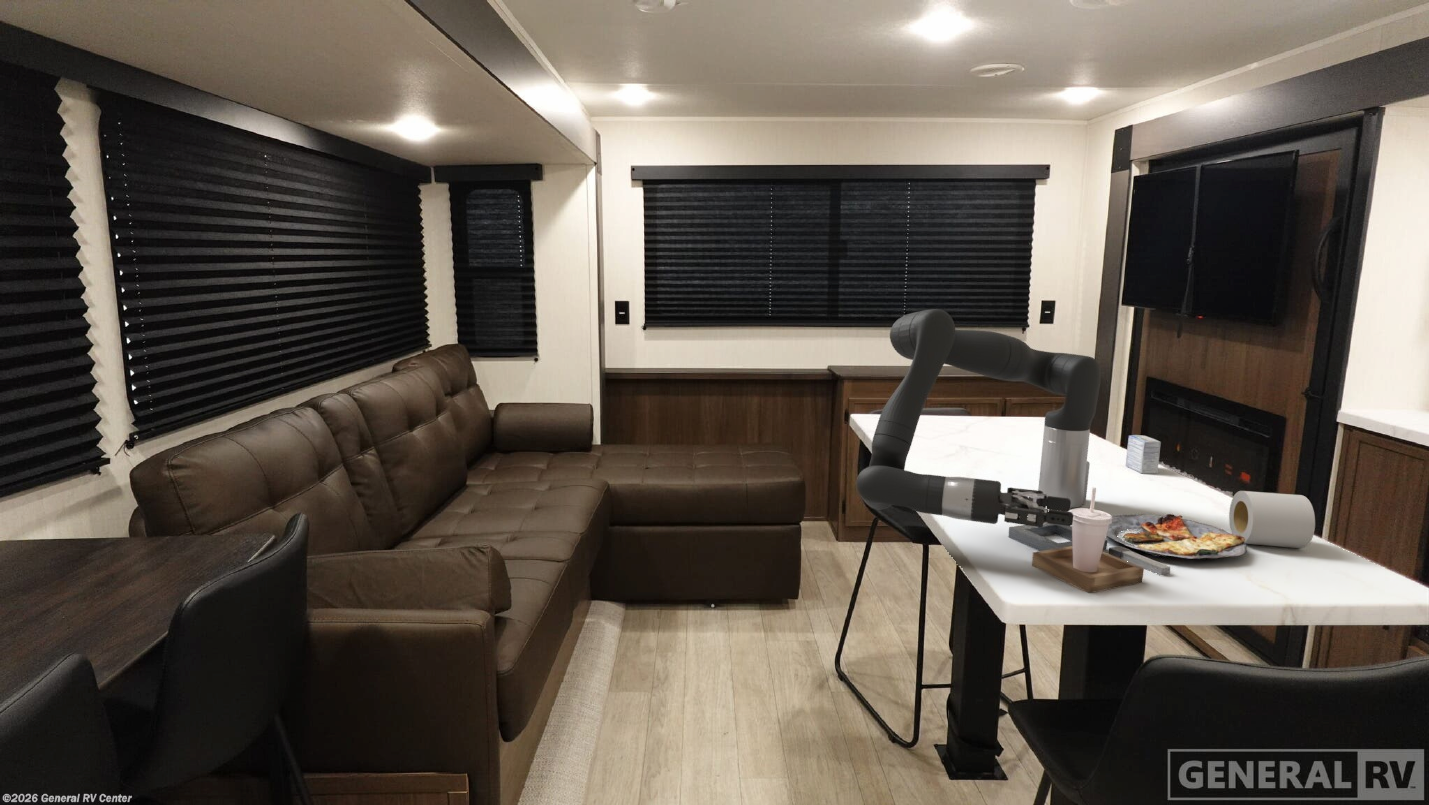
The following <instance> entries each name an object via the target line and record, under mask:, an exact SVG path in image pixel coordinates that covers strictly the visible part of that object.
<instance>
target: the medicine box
mask: <svg viewBox="0 0 1429 805" xmlns="http://www.w3.org/2000/svg"><path fill="white" fill-rule="evenodd" d="M1161 444H1162V442H1161V441H1159V440H1157V439H1155V438H1153V437H1149V436H1147V435H1140V434H1133V435H1128V440H1127V448H1126V449H1127V450H1126V457H1125V467H1127V468H1129V469H1131V470H1133V471H1136V472H1137V473H1139V474H1142V475H1146V474H1147V475H1157V474H1158V472H1159V464H1160V453H1161V452H1160V451H1161Z"/></svg>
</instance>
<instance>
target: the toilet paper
mask: <svg viewBox="0 0 1429 805" xmlns="http://www.w3.org/2000/svg"><path fill="white" fill-rule="evenodd" d="M1228 513H1229V515H1228V517H1229V518H1228V519H1229V520H1228V521H1229V528H1230V533H1231V534H1233V535H1238V536H1242V537H1244V539H1245V541H1244V543H1245V544H1246V545H1258V546H1269V547H1280V548H1290V549H1291V548H1292V549H1304V548H1307V547H1308V546H1309V545H1310V544H1311V542H1312V540H1313V538H1314V534H1315V530H1316V529H1315V528H1316V515H1315V511H1314V507H1313V504H1312V503H1311V501H1310V500H1309V499H1308V498H1307V497H1306V496H1304V495H1302V494H1288V493H1277V492H1261V491H1249V490H1239V491H1237V492H1236V493H1235V494H1234V495H1233V497H1232V499H1231V503H1230V506H1229V512H1228Z"/></svg>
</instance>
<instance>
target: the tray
mask: <svg viewBox="0 0 1429 805" xmlns="http://www.w3.org/2000/svg"><path fill="white" fill-rule="evenodd" d="M1031 566H1032V567H1033V568H1036V569H1038V570H1040V571H1042V572H1044V573H1046V574H1049V575H1050V576H1053V577H1055V578H1057V579H1058V580H1060V581H1063V582H1065V583H1067V584H1070V585H1071V586H1073V587H1075V588H1077V589H1080V590H1082V591H1084V592H1086V593H1088V594H1090V593H1091V594H1092V593H1095V592H1096V593H1097V592H1100V591H1106V590H1111V589H1116V588H1121V587H1126V586H1132V585H1136V584H1142V583H1143V578H1144V572H1145V571H1144V570H1145V569H1144V568H1142V567H1140V566H1137V565H1135V564H1132V563H1130V562H1127V561H1125V560H1122V559H1120V558H1117V557H1115V556H1112V555H1110V554H1108V553H1107V552H1106V551H1102V554H1101V558H1100V561H1099V565H1098V569H1097V571H1096V572H1083V571H1080V570H1078V569H1075V568H1074V567H1073V546H1069V547H1063V548H1057V549H1051V550H1044V551H1039V550H1037V551H1033V552H1032V560H1031Z"/></svg>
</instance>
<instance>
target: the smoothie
mask: <svg viewBox="0 0 1429 805" xmlns="http://www.w3.org/2000/svg"><path fill="white" fill-rule="evenodd" d="M1096 493H1097V488H1096V487H1092V489H1091V499H1090V508H1085V507H1075V508H1072V509H1070V512H1072V513H1073V523H1072V525H1071V526H1072V544H1073V567H1074V568H1075V569H1078V570H1080V571H1083V572H1096V571H1097V569H1098V565H1099V561H1100V558H1101V554H1102V550H1103V546H1104V542H1105V540H1107V539H1106V537H1107V531H1108V527H1109V524H1111V523H1112V516H1113V515H1111V514H1110V513H1108V512H1106V511H1103V510H1099V509H1095V503H1096V502H1095V501H1096Z"/></svg>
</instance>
